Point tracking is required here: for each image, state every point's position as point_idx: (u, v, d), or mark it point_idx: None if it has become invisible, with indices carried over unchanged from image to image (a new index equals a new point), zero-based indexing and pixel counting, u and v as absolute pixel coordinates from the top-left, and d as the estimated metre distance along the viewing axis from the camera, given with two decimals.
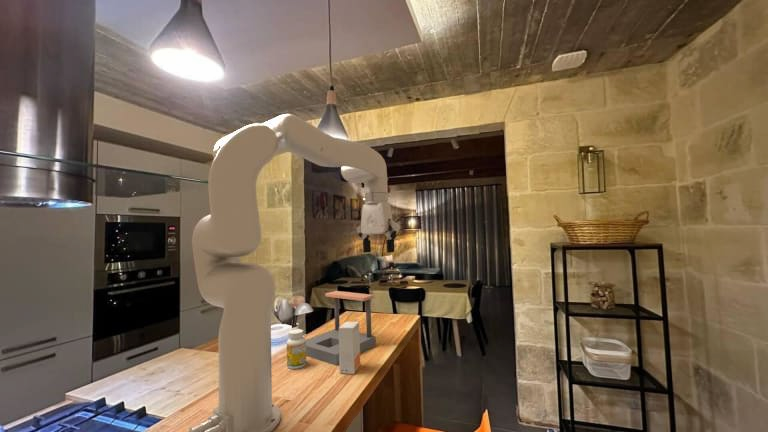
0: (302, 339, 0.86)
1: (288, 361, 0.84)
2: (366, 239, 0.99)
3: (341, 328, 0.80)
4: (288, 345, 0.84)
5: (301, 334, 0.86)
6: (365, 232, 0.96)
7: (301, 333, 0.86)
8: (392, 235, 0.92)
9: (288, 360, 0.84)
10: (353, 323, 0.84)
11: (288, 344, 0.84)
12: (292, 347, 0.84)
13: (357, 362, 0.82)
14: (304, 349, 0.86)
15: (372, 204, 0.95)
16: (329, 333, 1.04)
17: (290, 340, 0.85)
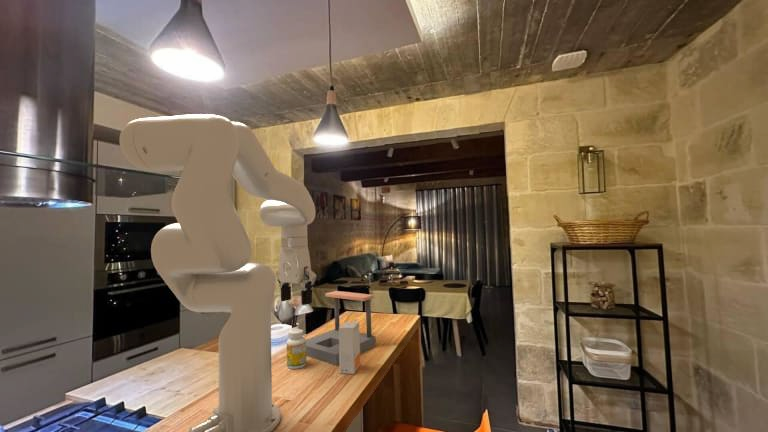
0: (302, 339, 0.86)
1: (288, 361, 0.84)
2: (285, 286, 0.90)
3: (341, 328, 0.80)
4: (288, 345, 0.84)
5: (301, 334, 0.86)
6: (281, 280, 0.87)
7: (301, 333, 0.86)
8: (307, 286, 0.83)
9: (288, 360, 0.84)
10: (353, 323, 0.84)
11: (288, 344, 0.84)
12: (292, 347, 0.84)
13: (357, 362, 0.82)
14: (304, 349, 0.86)
15: (287, 250, 0.86)
16: (329, 333, 1.04)
17: (290, 340, 0.85)
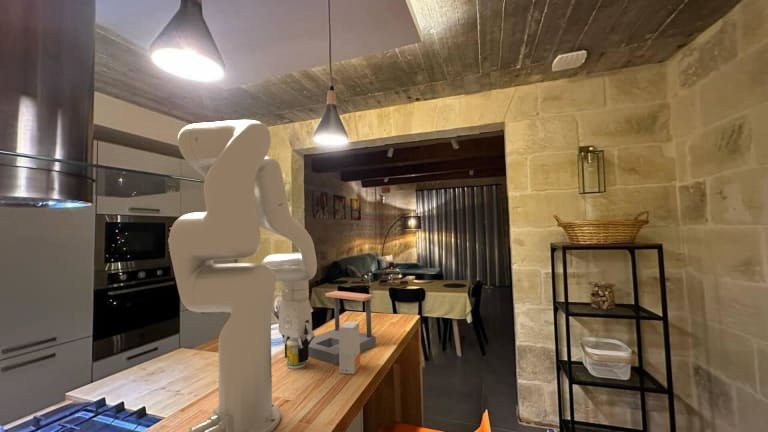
0: (302, 339, 0.86)
1: (288, 361, 0.84)
2: None
3: (341, 328, 0.80)
4: (288, 345, 0.84)
5: None
6: (282, 333, 0.86)
7: None
8: (304, 343, 0.83)
9: (288, 360, 0.84)
10: (353, 323, 0.84)
11: (288, 344, 0.84)
12: (292, 347, 0.84)
13: (357, 362, 0.82)
14: None
15: (288, 303, 0.85)
16: (329, 333, 1.04)
17: (290, 340, 0.85)
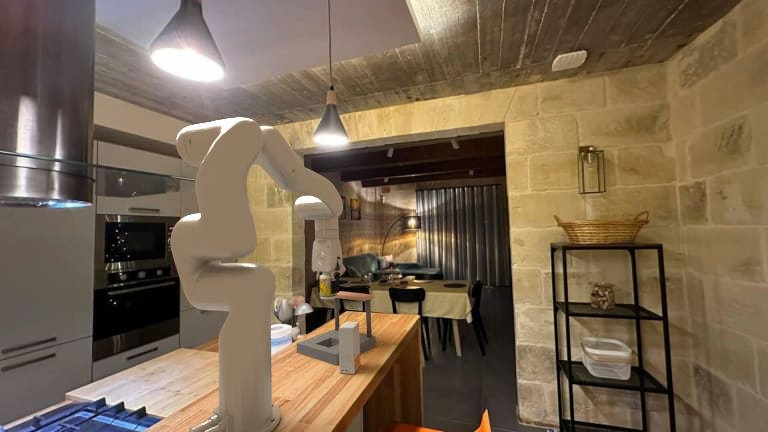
0: None
1: (321, 293, 0.94)
2: None
3: (341, 328, 0.80)
4: (321, 279, 0.94)
5: None
6: (315, 269, 0.96)
7: None
8: (336, 276, 0.93)
9: (321, 292, 0.94)
10: (353, 323, 0.84)
11: (321, 278, 0.94)
12: (325, 280, 0.94)
13: (357, 362, 0.82)
14: None
15: (321, 241, 0.95)
16: (329, 333, 1.04)
17: (323, 275, 0.95)
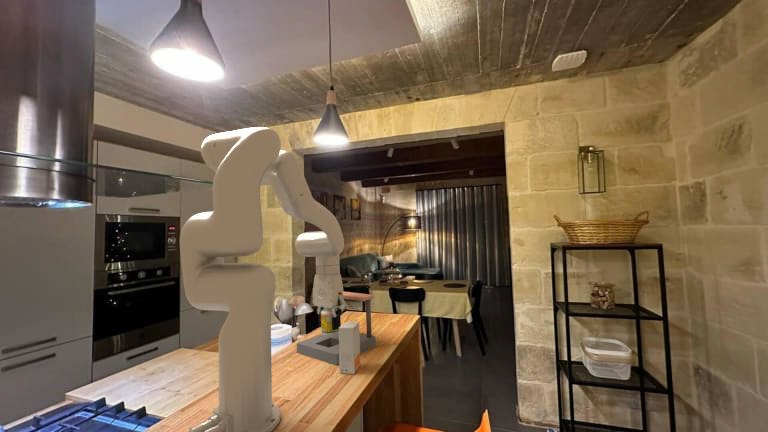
0: None
1: (323, 329, 0.94)
2: None
3: (341, 328, 0.80)
4: (323, 314, 0.94)
5: None
6: (316, 304, 0.96)
7: None
8: (337, 313, 0.93)
9: (323, 328, 0.94)
10: (353, 323, 0.84)
11: (323, 313, 0.94)
12: (326, 316, 0.93)
13: (357, 362, 0.82)
14: None
15: (322, 277, 0.94)
16: None
17: (324, 310, 0.94)
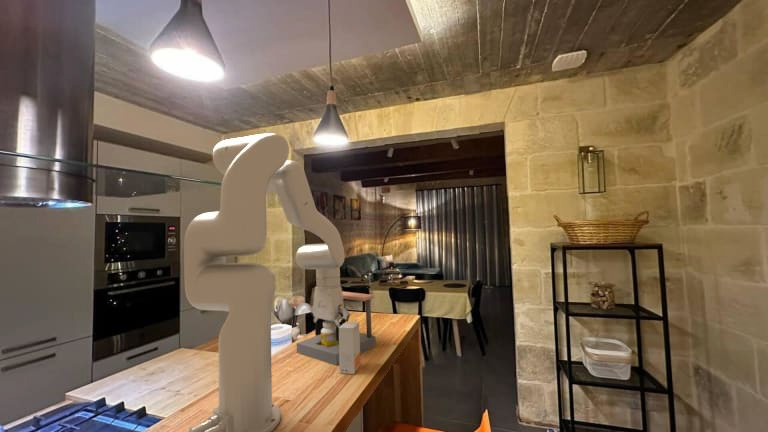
0: (335, 328, 0.95)
1: None
2: (319, 321, 0.98)
3: (341, 328, 0.80)
4: (323, 334, 0.93)
5: (334, 324, 0.95)
6: (316, 316, 0.95)
7: (334, 323, 0.95)
8: (341, 323, 0.91)
9: None
10: (353, 323, 0.84)
11: (323, 333, 0.93)
12: (326, 335, 0.93)
13: (357, 362, 0.82)
14: None
15: (323, 289, 0.94)
16: None
17: (324, 329, 0.94)
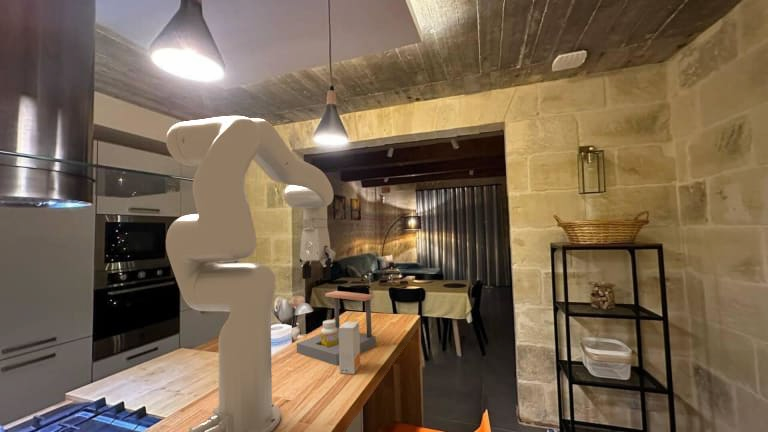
0: (335, 328, 0.95)
1: None
2: (306, 265, 0.99)
3: (341, 328, 0.80)
4: (323, 334, 0.93)
5: (334, 324, 0.95)
6: (303, 258, 0.96)
7: (334, 323, 0.95)
8: (327, 262, 0.92)
9: None
10: (353, 323, 0.84)
11: (323, 333, 0.93)
12: (326, 335, 0.93)
13: (357, 362, 0.82)
14: (337, 337, 0.94)
15: (309, 230, 0.95)
16: None
17: (324, 329, 0.94)
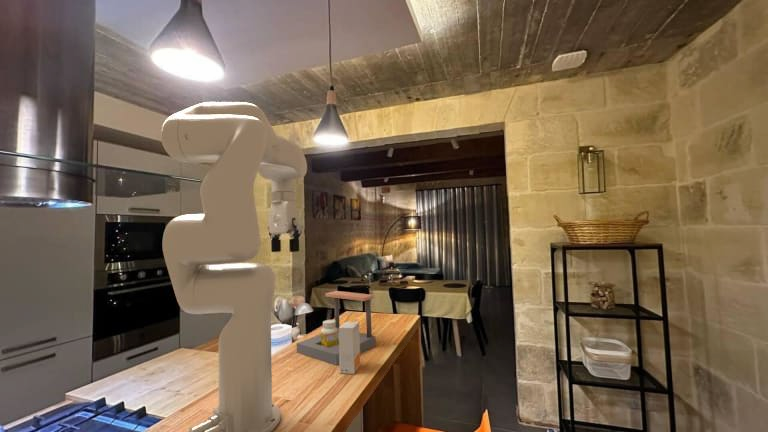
0: (335, 328, 0.95)
1: None
2: (275, 238, 0.99)
3: (341, 328, 0.80)
4: (323, 334, 0.93)
5: (334, 324, 0.95)
6: (271, 231, 0.96)
7: (334, 323, 0.95)
8: (294, 234, 0.92)
9: None
10: (353, 323, 0.84)
11: (323, 333, 0.93)
12: (326, 335, 0.93)
13: (357, 362, 0.82)
14: (337, 337, 0.94)
15: (277, 203, 0.95)
16: None
17: (324, 329, 0.94)
